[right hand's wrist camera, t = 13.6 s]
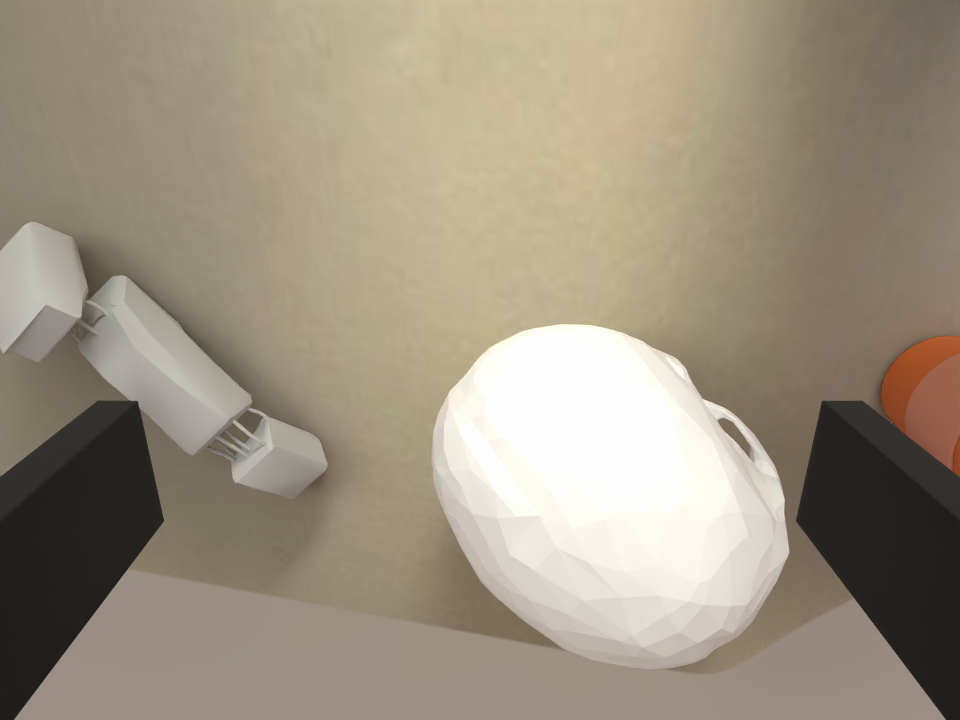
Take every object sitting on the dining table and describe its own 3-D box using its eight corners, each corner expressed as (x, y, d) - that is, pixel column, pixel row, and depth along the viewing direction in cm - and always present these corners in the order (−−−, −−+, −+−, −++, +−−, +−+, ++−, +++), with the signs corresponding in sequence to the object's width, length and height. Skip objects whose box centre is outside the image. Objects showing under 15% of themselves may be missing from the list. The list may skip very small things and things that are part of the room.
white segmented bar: (8, 256, 35) (-83, 301, 29) (46, 207, 34) (-39, 244, 28) (299, 469, 42) (276, 541, 36) (337, 434, 41) (320, 503, 35)
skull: (669, 591, 44) (774, 832, 29) (395, 425, 39) (352, 610, 24) (809, 446, 40) (1012, 636, 25) (526, 244, 35) (570, 331, 21)
